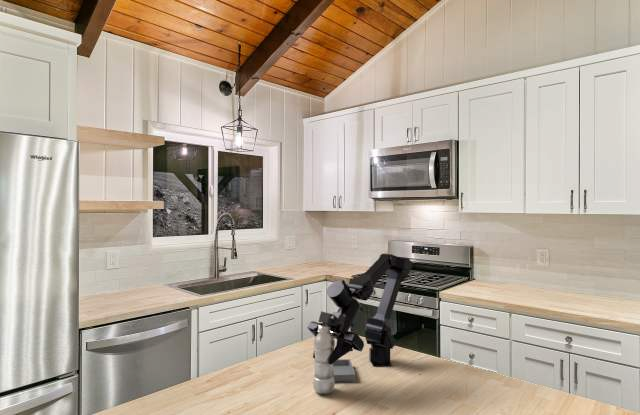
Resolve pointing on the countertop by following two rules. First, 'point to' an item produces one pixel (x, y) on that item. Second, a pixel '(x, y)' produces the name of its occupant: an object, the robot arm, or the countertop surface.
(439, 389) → the countertop surface
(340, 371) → the gray tray
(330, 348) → the plastic bottle
